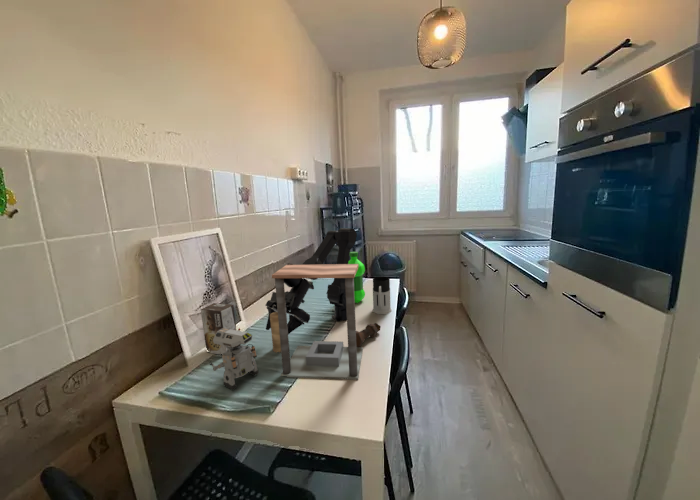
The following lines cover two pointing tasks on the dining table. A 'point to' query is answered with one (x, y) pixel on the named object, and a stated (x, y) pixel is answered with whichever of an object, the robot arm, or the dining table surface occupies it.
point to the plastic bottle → (358, 277)
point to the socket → (325, 359)
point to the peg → (275, 332)
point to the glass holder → (381, 295)
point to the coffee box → (217, 324)
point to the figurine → (235, 355)
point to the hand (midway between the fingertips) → (274, 333)
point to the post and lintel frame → (297, 362)
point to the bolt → (366, 333)
